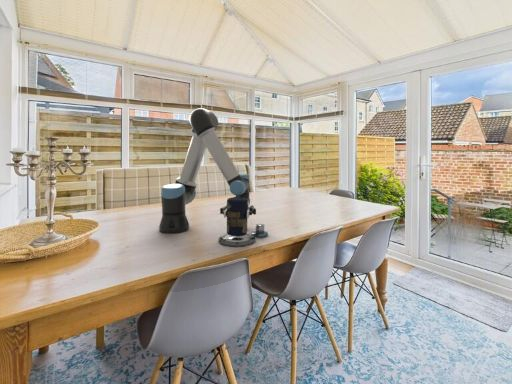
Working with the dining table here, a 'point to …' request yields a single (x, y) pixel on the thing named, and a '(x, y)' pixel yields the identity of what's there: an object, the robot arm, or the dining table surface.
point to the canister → (237, 216)
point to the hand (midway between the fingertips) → (236, 214)
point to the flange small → (259, 231)
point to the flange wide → (236, 240)
